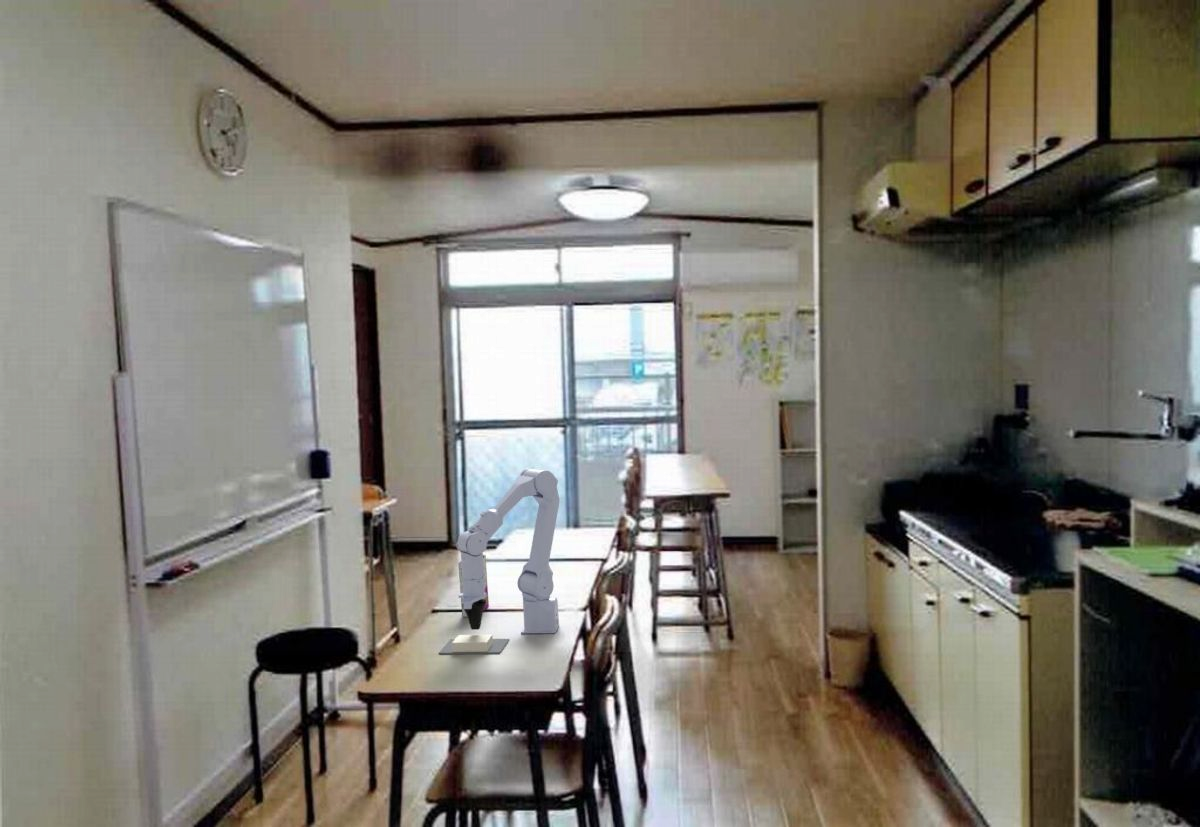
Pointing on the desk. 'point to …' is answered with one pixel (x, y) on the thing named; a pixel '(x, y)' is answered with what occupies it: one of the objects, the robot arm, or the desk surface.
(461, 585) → the candy bar box
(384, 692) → the desk surface
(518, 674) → the desk surface
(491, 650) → the mat
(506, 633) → the desk surface
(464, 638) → the block
